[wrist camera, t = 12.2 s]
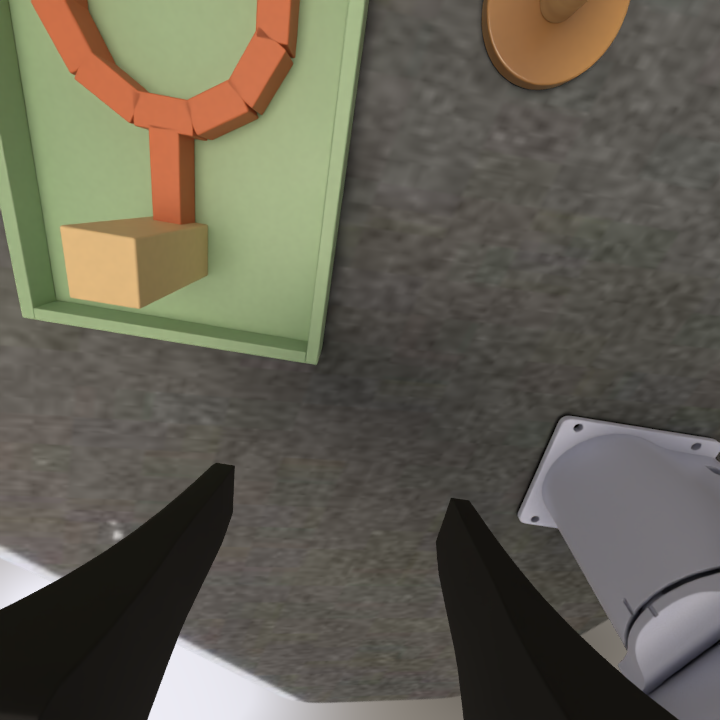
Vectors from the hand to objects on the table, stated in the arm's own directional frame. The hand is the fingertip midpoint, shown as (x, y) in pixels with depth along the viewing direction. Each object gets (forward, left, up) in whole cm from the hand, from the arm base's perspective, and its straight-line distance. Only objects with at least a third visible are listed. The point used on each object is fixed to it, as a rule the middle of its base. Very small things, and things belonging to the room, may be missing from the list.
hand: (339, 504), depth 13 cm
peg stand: (-5, -17, -9) cm, 20 cm away
